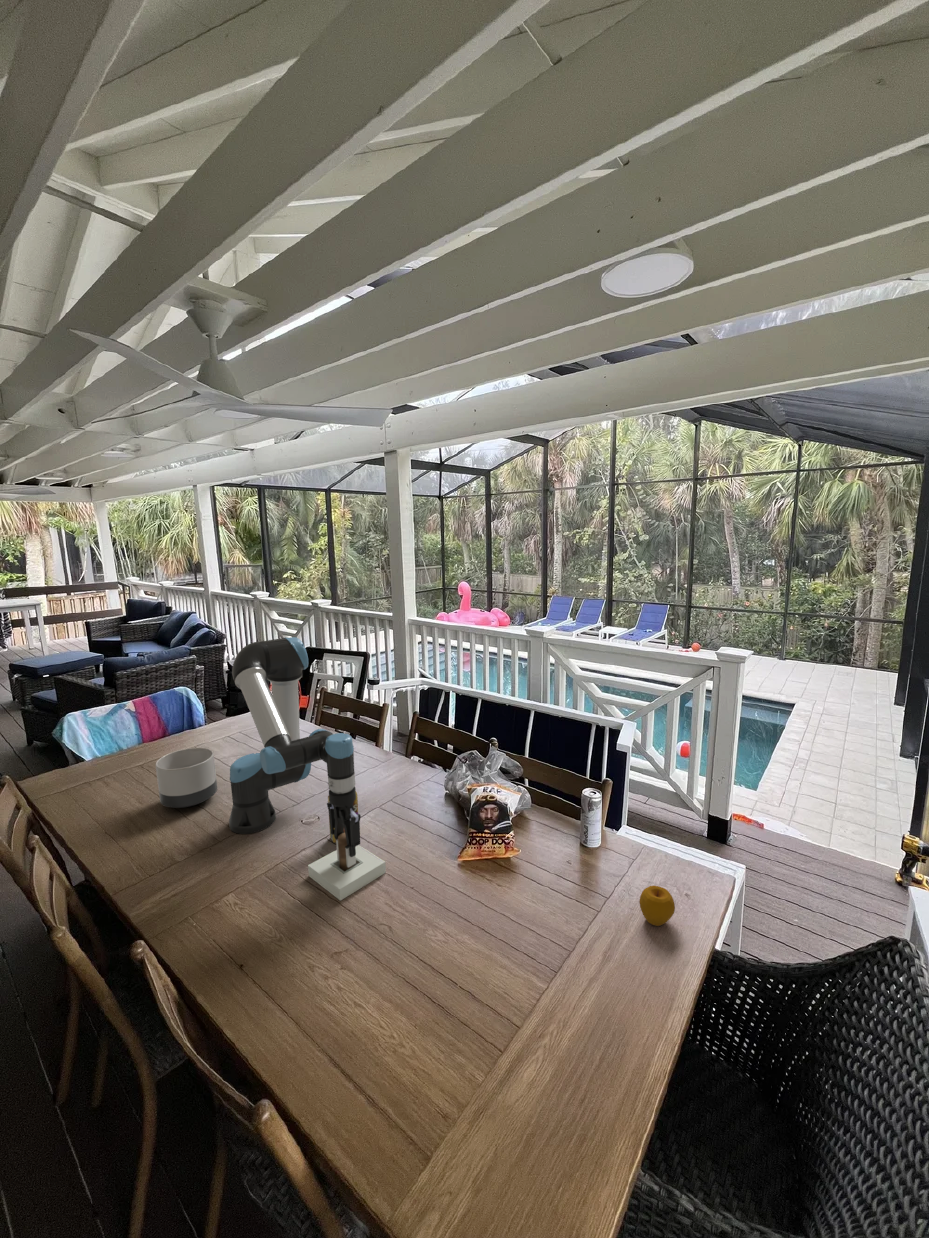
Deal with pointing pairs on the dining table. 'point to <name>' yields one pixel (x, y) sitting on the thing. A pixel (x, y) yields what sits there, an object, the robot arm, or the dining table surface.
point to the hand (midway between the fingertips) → (346, 861)
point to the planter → (186, 777)
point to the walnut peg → (342, 852)
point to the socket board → (346, 872)
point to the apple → (656, 905)
